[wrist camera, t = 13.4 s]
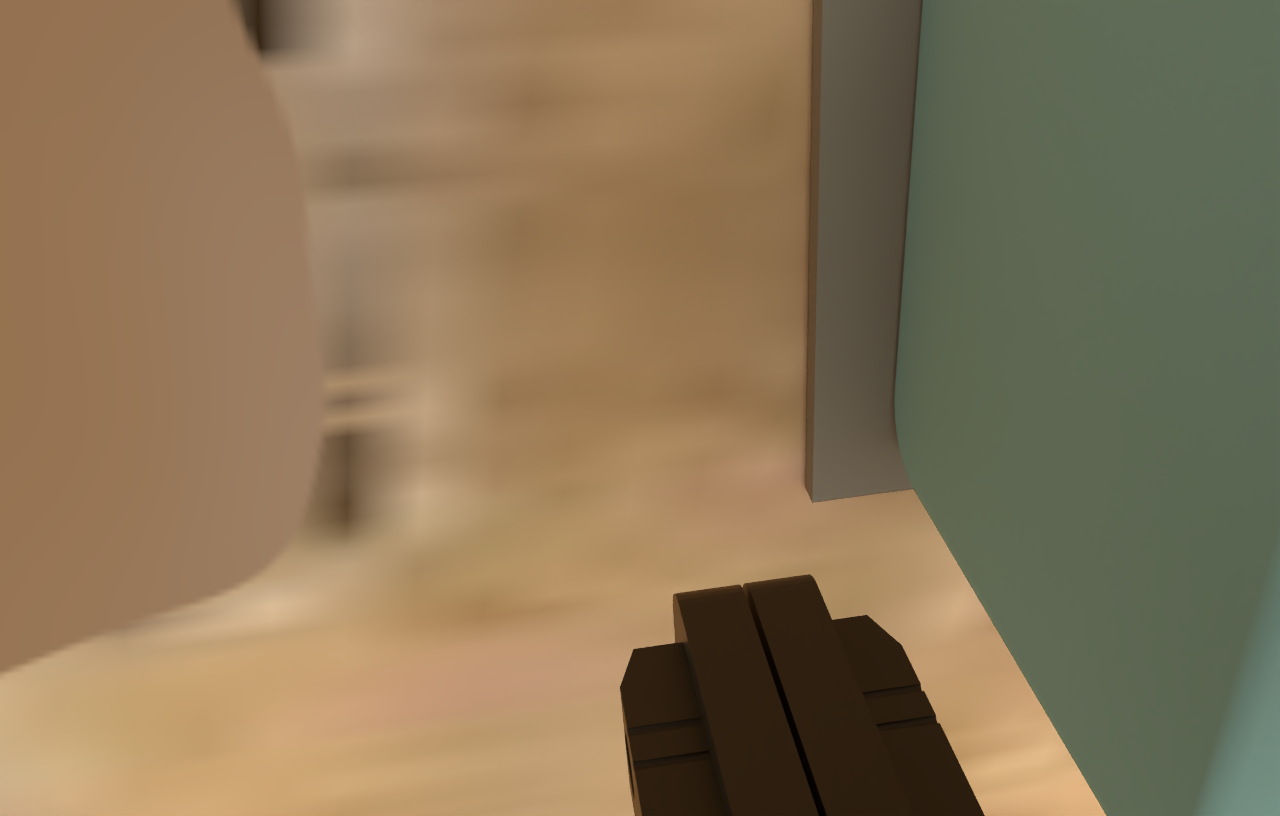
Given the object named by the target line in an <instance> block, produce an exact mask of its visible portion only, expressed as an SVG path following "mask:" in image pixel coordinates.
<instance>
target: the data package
mask: <svg viewBox="0 0 1280 816" xmlns="http://www.w3.org/2000/svg"><path fill="white" fill-rule="evenodd" d="M894 408H895V423H896V432H897V438H898V444H899V449H900V453H901V457H902V461H903V464H904V467H905V470H906V473H907V476H908V478H909V480H910V483H911V485H912V487H913V488H914V490H915V492H916V494H917V495H918V497H919V499H920V500H921V502H922V504H923V506H924V507H925V509H926V511H927V512H928V514H929V516H930V517H931V519H932V521H933V522H934V524H935V526H936V528H937V529H938V531H939V533H940V534H941V536H942V538H943V539H944V541H945V543H946V544H947V546H948V548H949V550H950V551H951V553H952V555H953V556H954V558H955V560H956V561H957V563H958V565H959V566H960V568H961V570H962V572H963V573H964V575H965V577H966V578H967V580H968V582H969V583H970V585H971V587H972V588H973V590H974V592H975V594H976V595H977V597H978V599H979V600H980V602H981V604H982V605H983V607H984V609H985V610H986V612H987V614H988V616H989V617H990V619H991V621H992V622H993V624H994V626H995V627H996V629H997V631H998V632H999V634H1000V636H1001V638H1002V639H1003V641H1004V643H1005V644H1006V646H1007V648H1008V649H1009V651H1010V653H1011V655H1012V656H1013V658H1014V660H1015V661H1016V663H1017V665H1018V666H1019V668H1020V670H1021V671H1022V673H1023V675H1024V677H1025V678H1026V680H1027V682H1028V683H1029V685H1030V687H1031V688H1032V690H1033V692H1034V693H1035V695H1036V697H1037V699H1038V700H1039V702H1040V704H1041V705H1042V707H1043V709H1044V710H1045V712H1046V714H1047V715H1048V717H1049V719H1050V721H1051V722H1052V724H1053V726H1054V727H1055V729H1056V731H1057V732H1058V734H1059V736H1060V737H1061V739H1062V741H1063V743H1064V744H1065V746H1066V748H1067V749H1068V751H1069V753H1070V754H1071V756H1072V758H1073V759H1074V761H1075V763H1076V765H1077V766H1078V768H1079V770H1080V771H1081V773H1082V775H1083V776H1084V778H1085V780H1086V781H1087V783H1088V785H1089V787H1090V788H1091V790H1092V792H1093V793H1094V795H1095V797H1096V798H1097V800H1098V802H1099V803H1100V805H1101V807H1102V809H1103V810H1104V812H1105V814H1106V815H1107V816H1280V0H923V4H922V18H921V32H920V46H919V60H918V74H917V88H916V102H915V116H914V130H913V144H912V158H911V172H910V186H909V200H908V214H907V227H906V241H905V255H904V269H903V283H902V297H901V311H900V325H899V339H898V353H897V367H896V381H895V398H894Z"/></svg>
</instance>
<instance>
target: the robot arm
mask: <svg viewBox="0 0 1280 816" xmlns="http://www.w3.org/2000/svg"><path fill="white" fill-rule="evenodd" d="M673 613H674V629H675V643H673V644H666V645H659V646H652V647H645V648H638V649H634V650H633V652H632V655H631V658H630V661H629V664H628V666H627V669H626V672H625V675H624V678H623V681H622V683H621V686H620V692H621V702H622V712H623V722H624V732H625V742H626V752H627V761H628V771H629V781H630V789H631V795H632V801H633V807H634V813H635V816H985V815H984V813H983V811H982V809H981V807H980V805H979V803H978V801H977V799H976V797H975V795H974V793H973V791H972V789H971V787H970V785H969V782H968V780H967V778H966V776H965V774H964V772H963V770H962V768H961V766H960V764H959V762H958V760H957V758H956V756H955V754H954V752H953V750H952V747H951V745H950V743H949V741H948V739H947V737H946V735H945V733H944V731H943V729H942V727H941V725H940V723H937V721H936V715H935V712H934V710H933V708H932V706H931V704H930V702H929V700H928V698H927V696H926V694H925V692H924V691H922V690H921V685H920V682H919V680H918V677H917V675H916V673H915V671H914V669H913V667H912V665H911V663H910V661H909V659H908V657H907V655H906V653H905V651H904V649H903V647H902V645H901V644H900V643H899V642H897V641H896V640H895V639H894V638H893V637H892V636H890V635H889V634H888V633H887V632H886V631H885V630H884V629H882V628H881V627H880V626H879V625H878V624H877V623H876V622H874V621H873V620H872V619H871V618H870V617H869V616H868V615H863V616H857V617H850V618H843V619H836V620H832V619H831V616H830V614H829V612H828V609H827V607H826V605H825V602H824V600H823V597H822V595H821V593H820V590H819V588H818V586H817V583H816V581H815V580H814V578H813V577H812V576H811V575H809V574H808V575H801V576H794V577H787V578H780V579H773V580H766V581H759V582H752V583H745V584H744V585H743V588H742V587H741V585H733V586H726V587H719V588H712V589H704V590H697V591H690V592H683V593H676V594H674V595H673Z"/></svg>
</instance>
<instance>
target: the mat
mask: <svg viewBox="0 0 1280 816" xmlns="http://www.w3.org/2000/svg"><path fill="white" fill-rule="evenodd" d="M922 4H923V0H813V58H812V120H811V181H810V243H809V304H808V366H807V428H806V490H807V492H808V494H809V496H810V498H811V501H812V503H813V502H820V501H828V500H835V499H843V498H850V497H858V496H865V495H872V494H880V493H887V492H895V491H902V490H909V489H914V488H913V487H912V485H911V483H910V480H909V478H908V476H907V473H906V470H905V467H904V464H903V461H902V457H901V453H900V449H899V444H898V438H897V432H896V423H895V408H894V398H895V381H896V367H897V353H898V339H899V325H900V311H901V297H902V283H903V269H904V255H905V241H906V227H907V214H908V200H909V186H910V172H911V158H912V144H913V130H914V116H915V102H916V88H917V74H918V60H919V46H920V32H921V18H922Z"/></svg>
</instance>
